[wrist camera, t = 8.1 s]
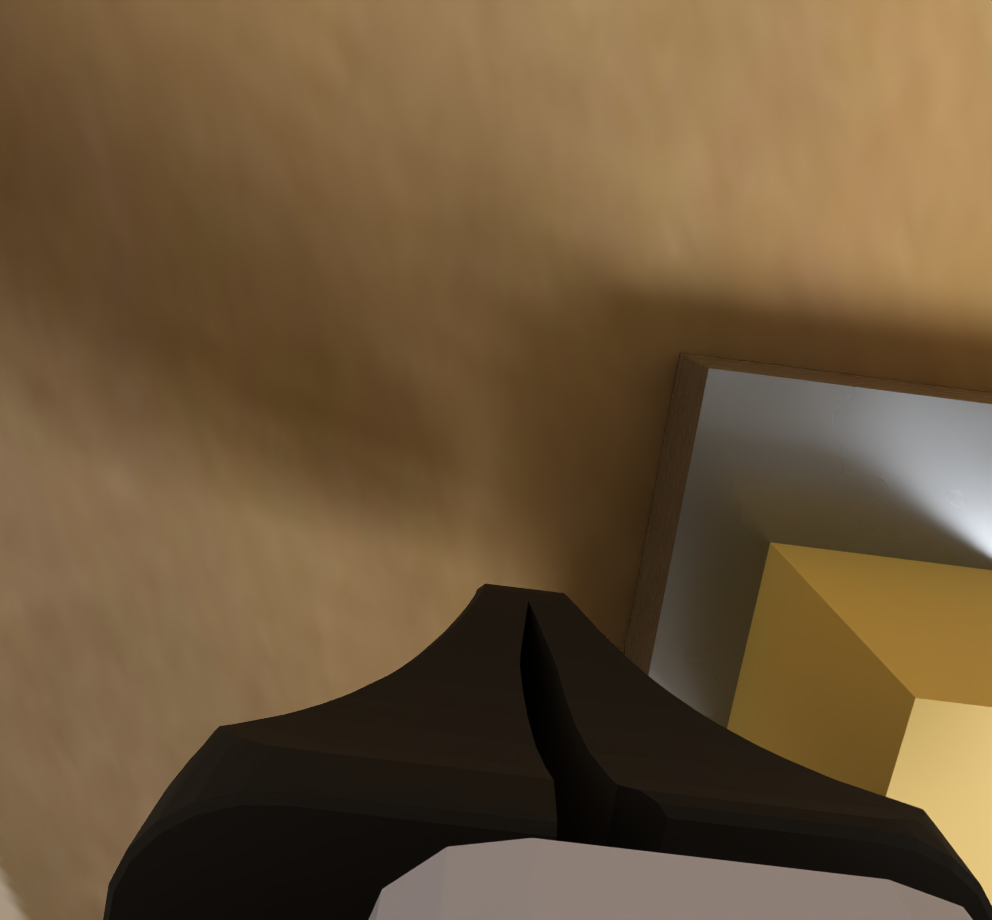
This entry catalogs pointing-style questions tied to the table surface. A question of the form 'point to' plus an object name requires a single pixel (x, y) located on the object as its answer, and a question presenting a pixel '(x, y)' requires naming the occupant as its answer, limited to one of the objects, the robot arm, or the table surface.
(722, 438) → the flange plate
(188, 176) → the table surface
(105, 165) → the table surface
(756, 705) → the block
